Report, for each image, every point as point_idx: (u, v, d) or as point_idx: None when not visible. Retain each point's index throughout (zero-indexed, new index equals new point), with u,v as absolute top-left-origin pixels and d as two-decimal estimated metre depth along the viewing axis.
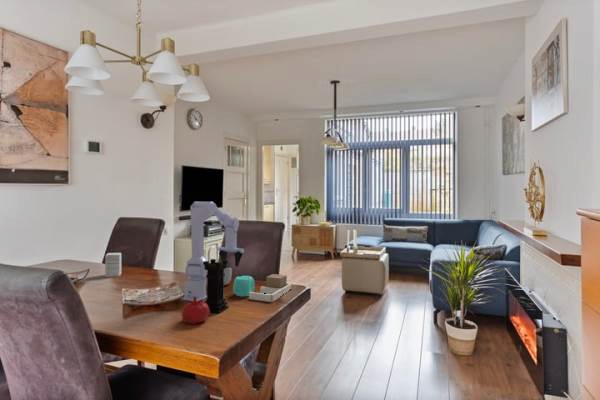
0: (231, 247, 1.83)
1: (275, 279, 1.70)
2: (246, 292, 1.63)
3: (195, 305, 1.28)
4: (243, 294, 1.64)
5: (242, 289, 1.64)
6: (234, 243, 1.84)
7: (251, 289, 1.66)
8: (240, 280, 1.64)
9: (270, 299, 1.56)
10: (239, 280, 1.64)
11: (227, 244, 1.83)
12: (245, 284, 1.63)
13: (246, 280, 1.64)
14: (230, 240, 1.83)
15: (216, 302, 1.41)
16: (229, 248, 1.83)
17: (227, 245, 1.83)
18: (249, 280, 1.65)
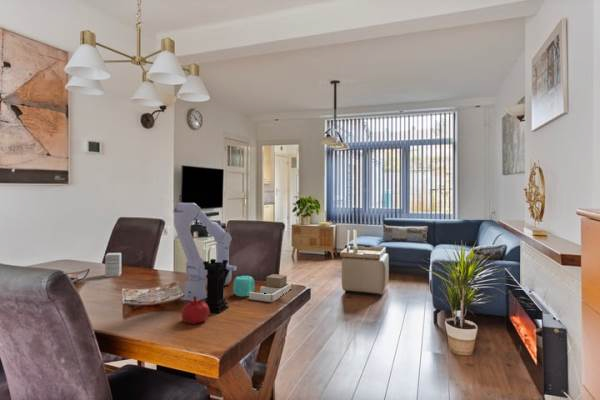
0: None
1: (275, 279, 1.70)
2: (246, 292, 1.63)
3: (195, 305, 1.28)
4: (243, 294, 1.64)
5: (242, 289, 1.64)
6: None
7: (251, 289, 1.66)
8: (240, 280, 1.64)
9: (270, 299, 1.56)
10: (239, 280, 1.64)
11: (218, 261, 1.70)
12: (245, 284, 1.63)
13: (246, 280, 1.64)
14: (222, 257, 1.69)
15: (216, 302, 1.41)
16: None
17: None
18: (249, 280, 1.65)
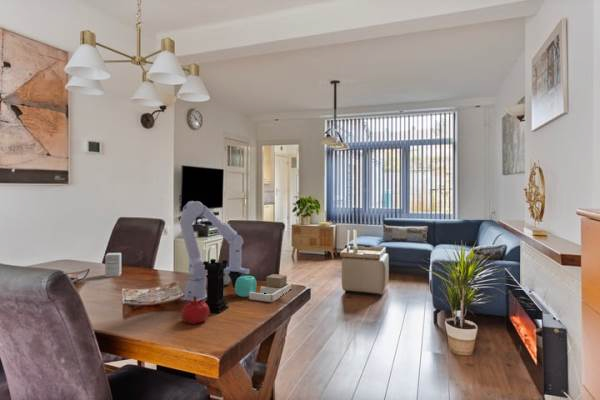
0: (235, 267, 1.67)
1: (275, 279, 1.70)
2: (248, 292, 1.63)
3: (195, 305, 1.28)
4: (245, 294, 1.63)
5: (244, 289, 1.64)
6: (239, 263, 1.68)
7: (253, 289, 1.66)
8: (242, 280, 1.64)
9: (270, 299, 1.56)
10: (241, 280, 1.64)
11: (231, 264, 1.67)
12: (247, 284, 1.63)
13: (248, 280, 1.64)
14: (234, 260, 1.67)
15: (216, 302, 1.41)
16: (233, 268, 1.67)
17: (231, 265, 1.67)
18: (251, 280, 1.64)
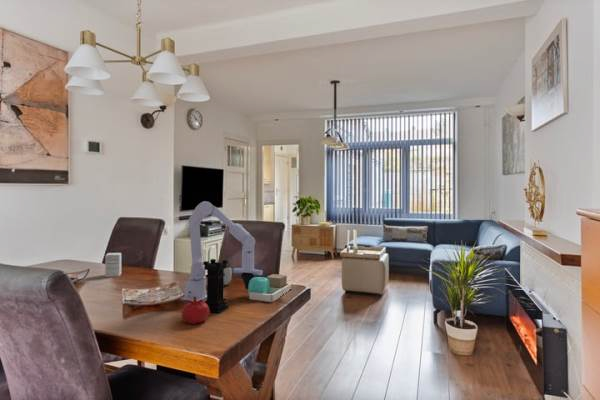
0: (248, 269, 1.64)
1: (275, 279, 1.70)
2: None
3: (195, 305, 1.28)
4: None
5: (257, 291, 1.61)
6: (252, 264, 1.65)
7: (266, 291, 1.64)
8: (255, 282, 1.61)
9: (270, 299, 1.56)
10: (254, 281, 1.61)
11: (244, 265, 1.65)
12: (261, 286, 1.61)
13: (262, 281, 1.61)
14: (247, 261, 1.64)
15: (216, 302, 1.41)
16: (246, 270, 1.64)
17: (244, 266, 1.65)
18: (264, 282, 1.62)
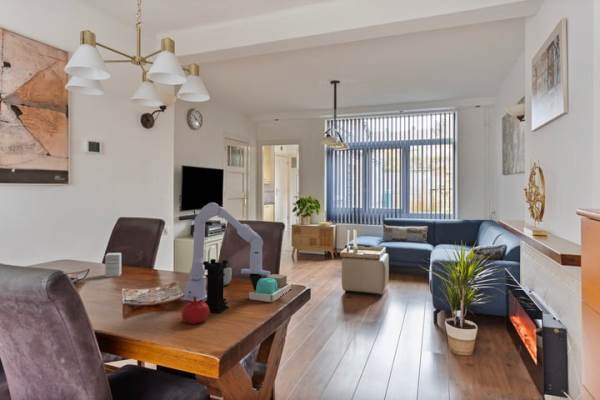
0: (256, 269, 1.63)
1: (275, 279, 1.70)
2: None
3: (195, 305, 1.28)
4: None
5: (266, 292, 1.60)
6: (260, 265, 1.64)
7: (274, 292, 1.62)
8: (264, 282, 1.60)
9: (270, 299, 1.56)
10: (263, 282, 1.60)
11: (252, 266, 1.63)
12: (269, 287, 1.59)
13: (270, 282, 1.60)
14: (255, 262, 1.63)
15: (216, 302, 1.41)
16: (254, 271, 1.63)
17: (252, 267, 1.63)
18: (273, 282, 1.60)
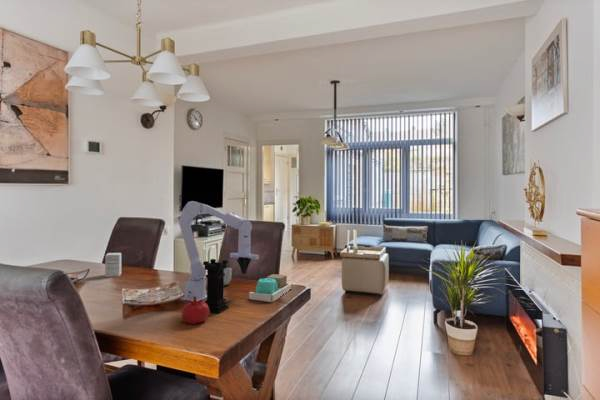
0: (245, 253, 1.65)
1: (275, 279, 1.70)
2: None
3: (195, 305, 1.28)
4: None
5: (266, 292, 1.60)
6: (248, 249, 1.66)
7: (274, 292, 1.62)
8: (264, 283, 1.60)
9: (270, 299, 1.56)
10: (262, 283, 1.60)
11: (240, 250, 1.65)
12: (269, 287, 1.59)
13: (270, 283, 1.60)
14: (244, 245, 1.65)
15: (216, 302, 1.41)
16: (242, 254, 1.65)
17: (240, 251, 1.65)
18: (273, 283, 1.60)
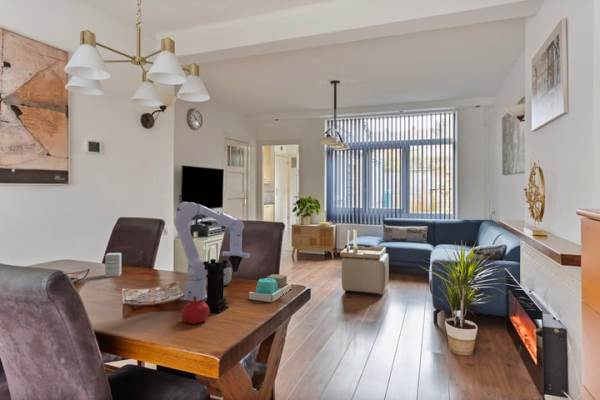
0: (236, 252, 1.69)
1: (275, 279, 1.70)
2: None
3: (195, 305, 1.28)
4: None
5: (266, 292, 1.60)
6: (239, 247, 1.70)
7: (274, 292, 1.62)
8: (264, 283, 1.60)
9: (270, 299, 1.56)
10: (262, 283, 1.60)
11: (232, 248, 1.69)
12: (269, 287, 1.59)
13: (270, 283, 1.60)
14: (235, 244, 1.69)
15: (216, 302, 1.41)
16: (234, 253, 1.69)
17: (232, 249, 1.69)
18: (273, 283, 1.60)
